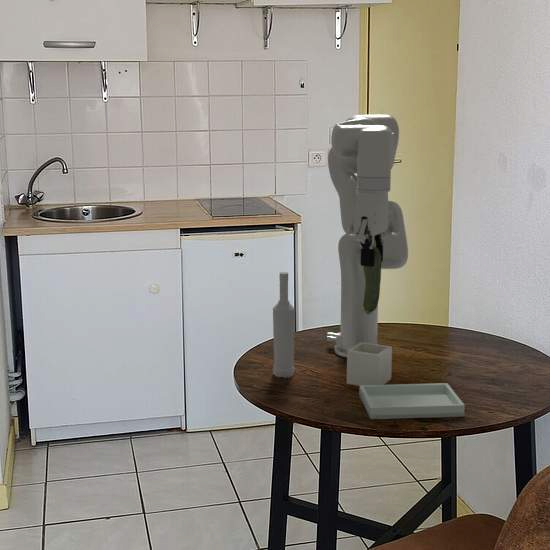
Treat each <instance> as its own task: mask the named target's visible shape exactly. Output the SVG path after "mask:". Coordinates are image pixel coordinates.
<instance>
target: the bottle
mask: <svg viewBox="0 0 550 550" xmlns="http://www.w3.org/2000/svg"><path fill="white" fill-rule="evenodd" d="M295 309H296V308H295V307H294V306H293V305H292V304H291V303H290V300H289V272H286V271H282V272H279V300H278V302H277V304H275V306H273V308H272V322H273V323H272V328H273V329H272V331H273V367H272V373H273V375H275V376H274V377H276V376H277V378H280V377H284V378H285V379H286V378H287V377H288V378H291V377H293V376H294V374H295V367H294V358H295V357H294V356H295V354H294V353H295V351H294V348H295V318H296V317H295V313H296V312H295V311H296V310H295ZM284 378H283V379H284Z"/></svg>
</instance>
